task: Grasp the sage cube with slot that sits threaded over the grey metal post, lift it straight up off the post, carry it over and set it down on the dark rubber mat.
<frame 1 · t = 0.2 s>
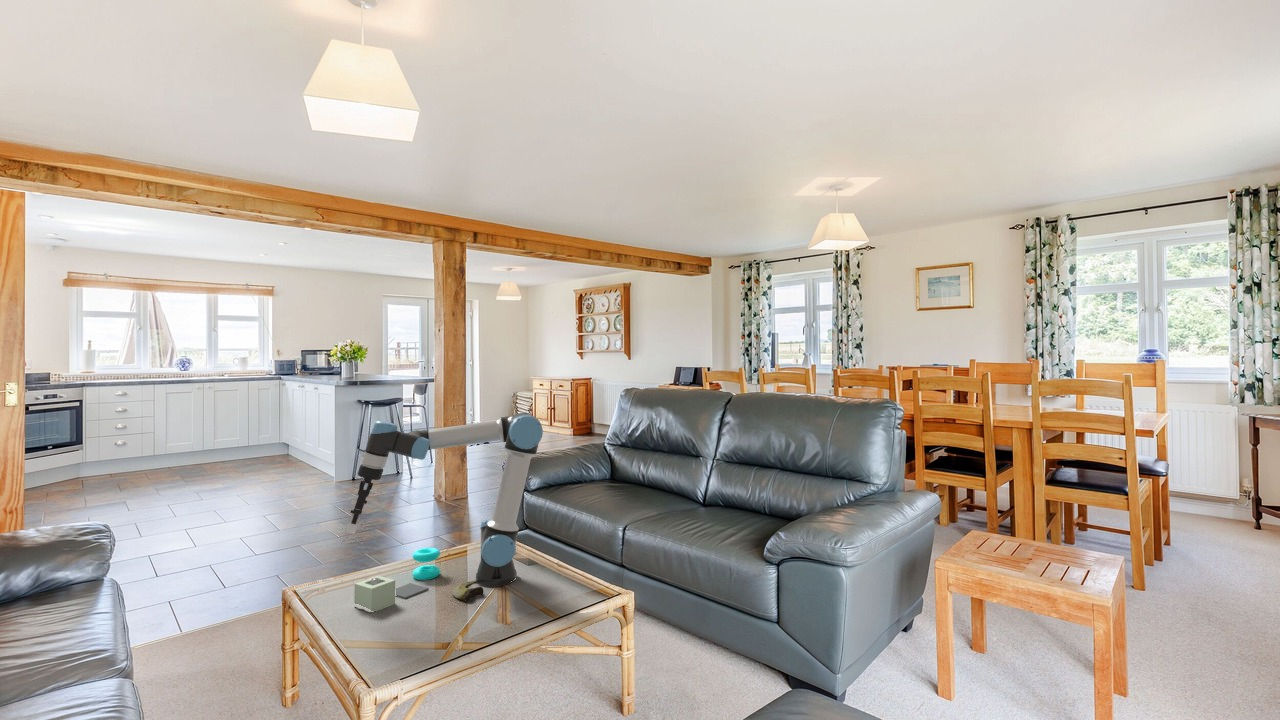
hand: (352, 527, 197), 27 cm above the table, tool tilted 15°, fingers open, 13 cm apart
post stand: (374, 605, 198), on the table
mat: (407, 591, 210), on the table
sage cube with slot: (374, 605, 198), on the table
claw: (469, 593, 210), on the table
donuts: (426, 577, 226), on the table
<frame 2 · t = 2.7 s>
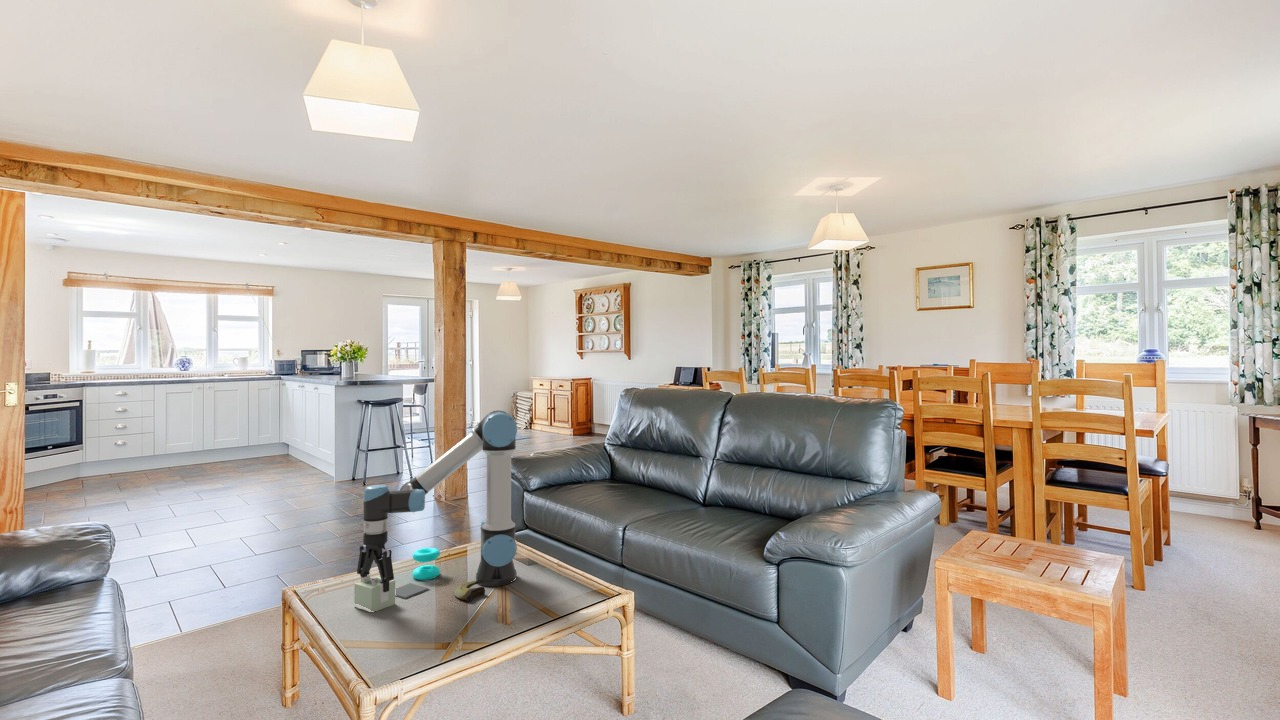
hand: (374, 598, 198), 2 cm above the table, tool pointing down, fingers closed on sage cube with slot, 9 cm apart
sage cube with slot: (374, 605, 198), on the table, touching gripper
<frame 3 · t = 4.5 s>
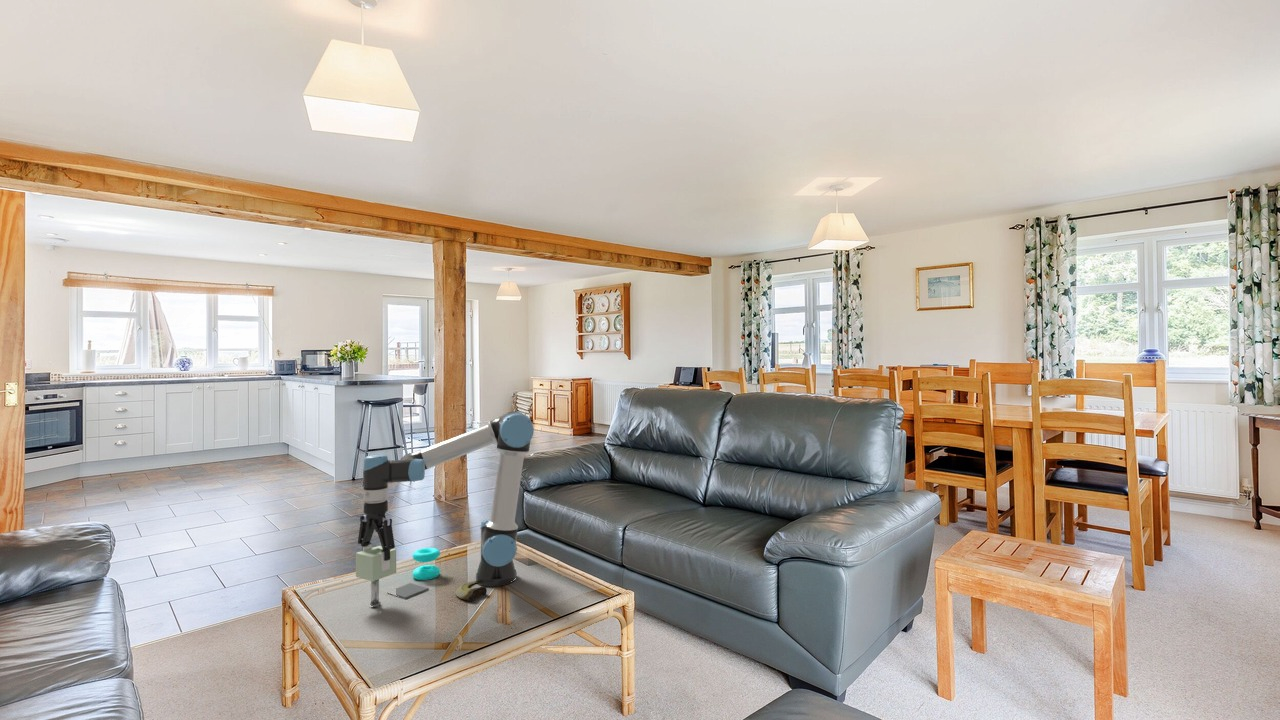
hand: (376, 567, 198), 13 cm above the table, tool pointing down, fingers closed on sage cube with slot, 9 cm apart
sage cube with slot: (376, 574, 198), point 10 cm above the table, touching gripper
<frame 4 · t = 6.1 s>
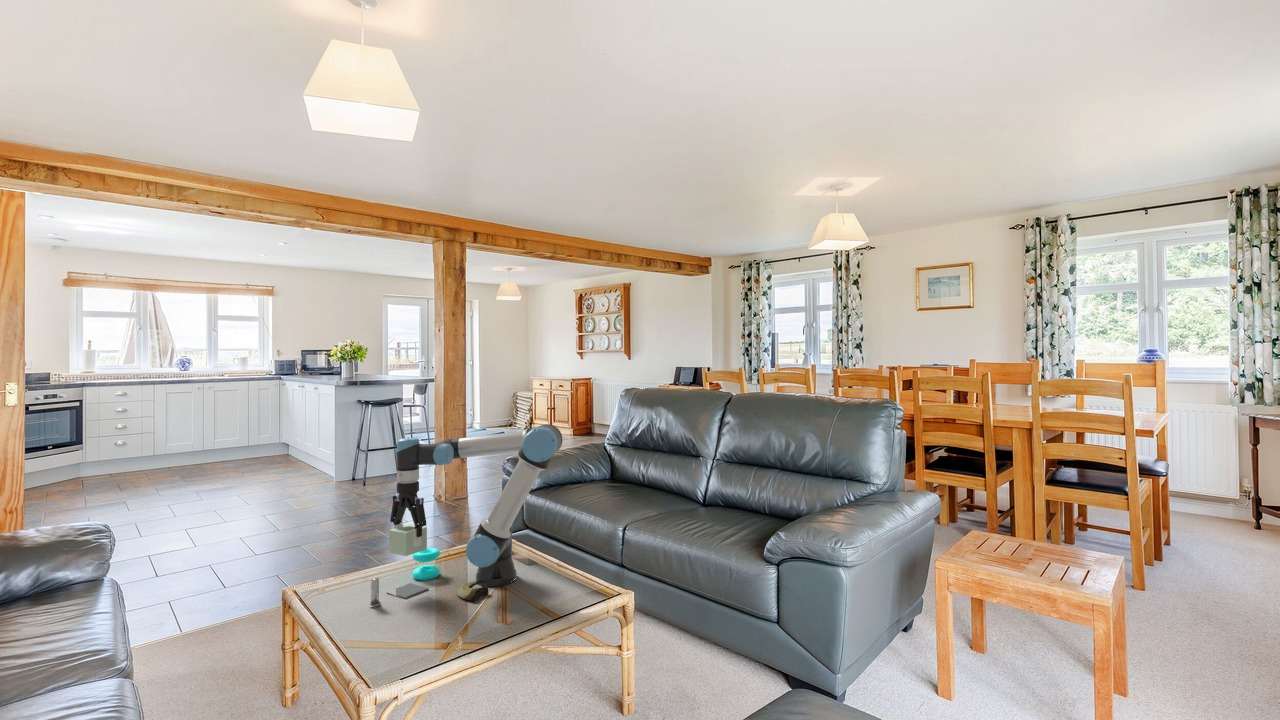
hand: (408, 544, 210), 17 cm above the table, tool pointing down, fingers closed on sage cube with slot, 9 cm apart
sage cube with slot: (408, 550, 210), point 15 cm above the table, touching gripper
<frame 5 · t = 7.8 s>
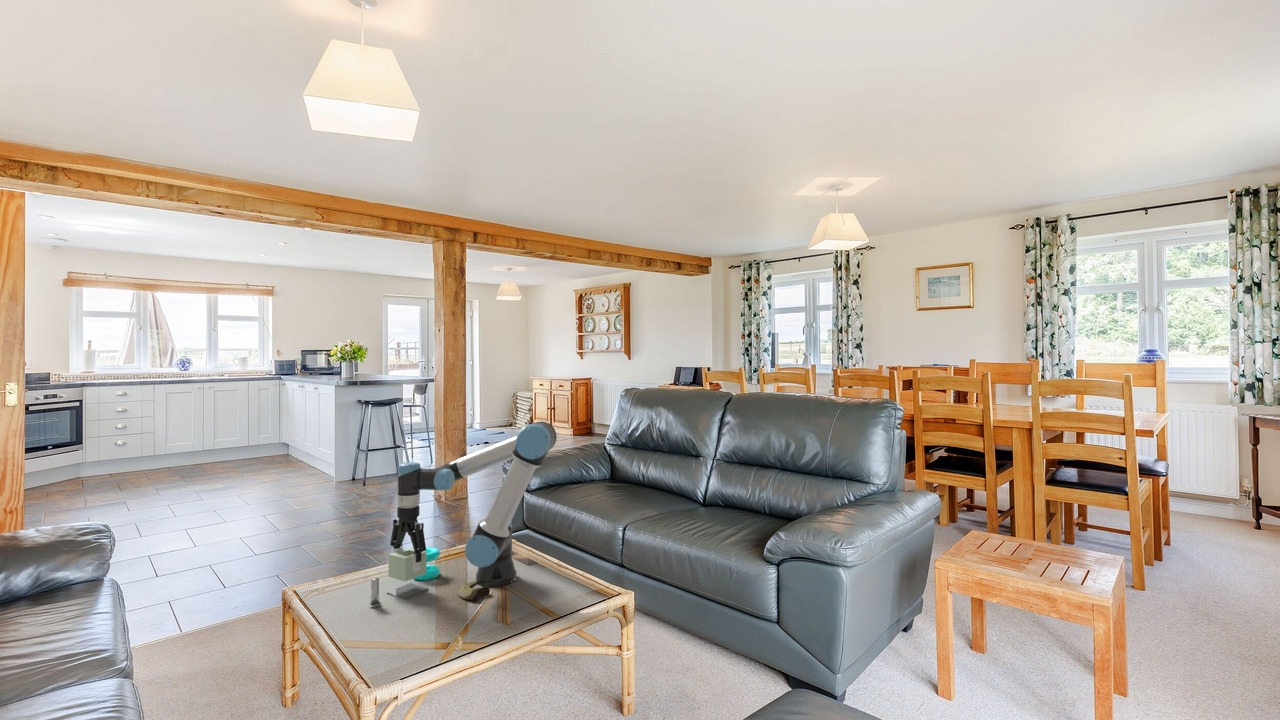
hand: (407, 568, 210), 8 cm above the table, tool pointing down, fingers closed on sage cube with slot, 9 cm apart
sage cube with slot: (407, 575, 210), point 6 cm above the table, touching gripper
when the fingers open (4 cm above the table, at t = 9.2 s): sage cube with slot stays where it is, resting on mat.
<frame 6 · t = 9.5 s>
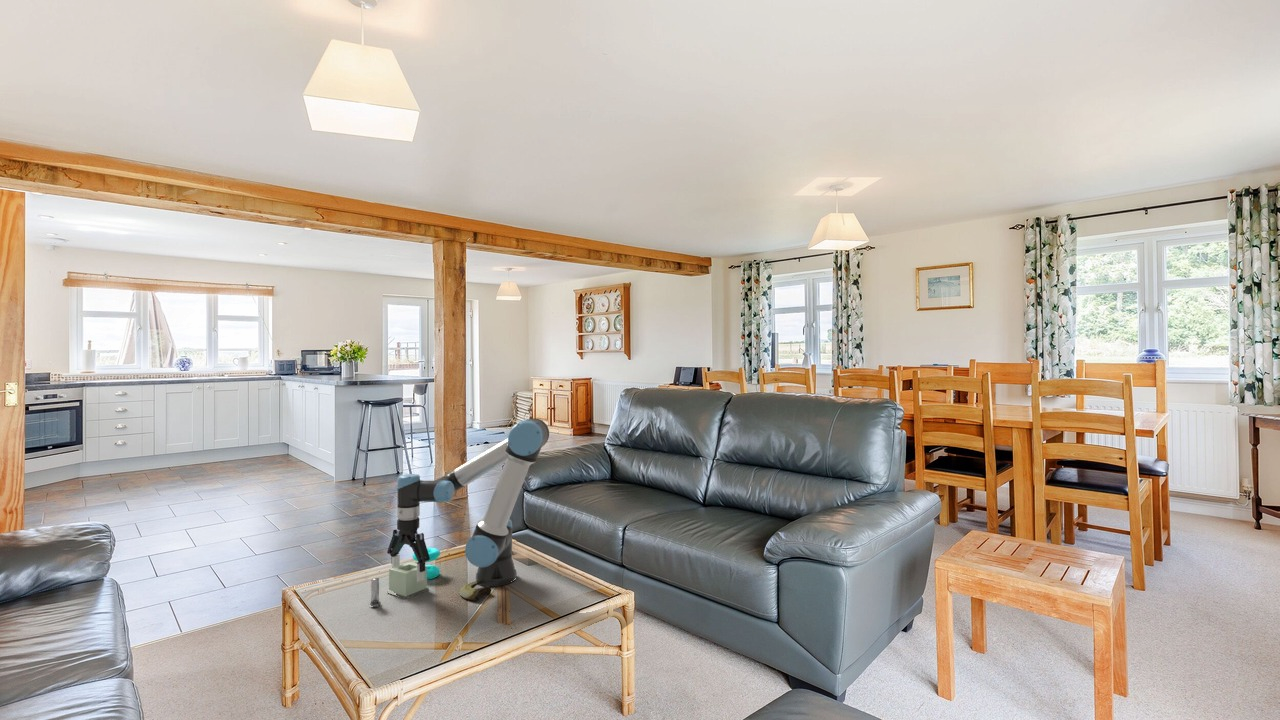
hand: (407, 577, 210), 5 cm above the table, tool pointing down, fingers open, 13 cm apart
sage cube with slot: (407, 589, 210), point 1 cm above the table, touching mat
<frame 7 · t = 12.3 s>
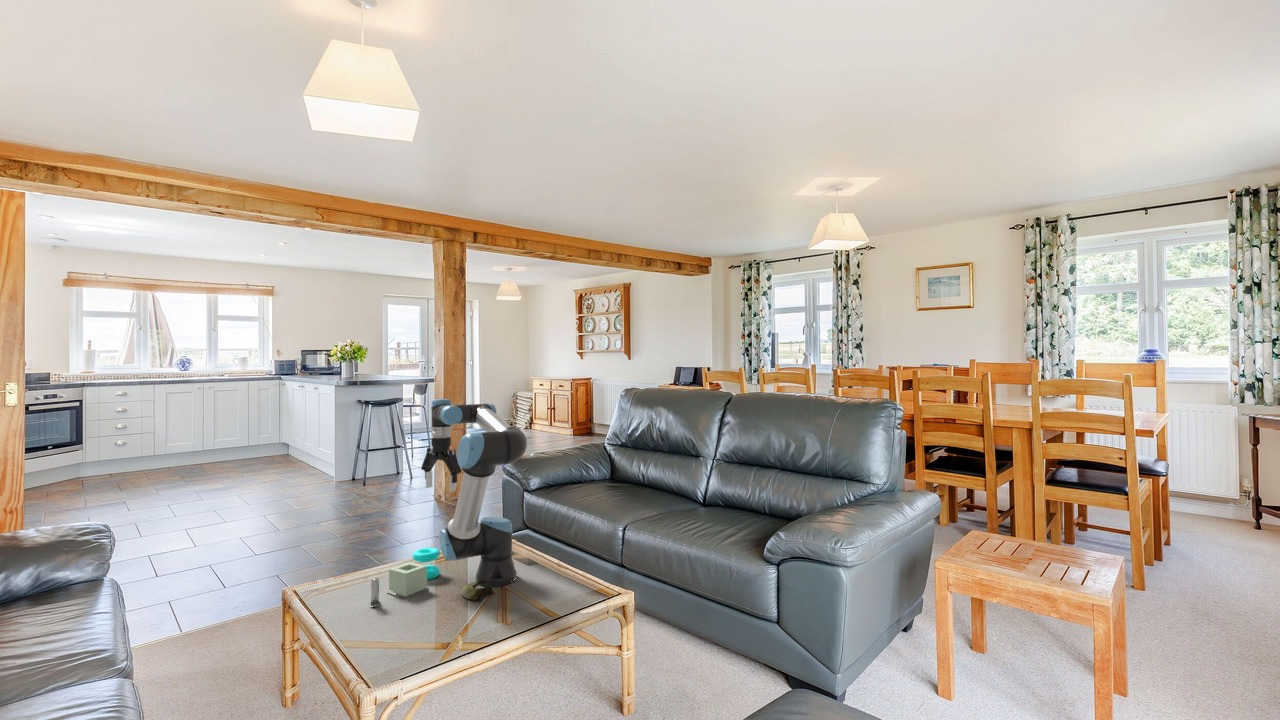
hand: (440, 489, 237), 32 cm above the table, tool pointing down, fingers open, 13 cm apart
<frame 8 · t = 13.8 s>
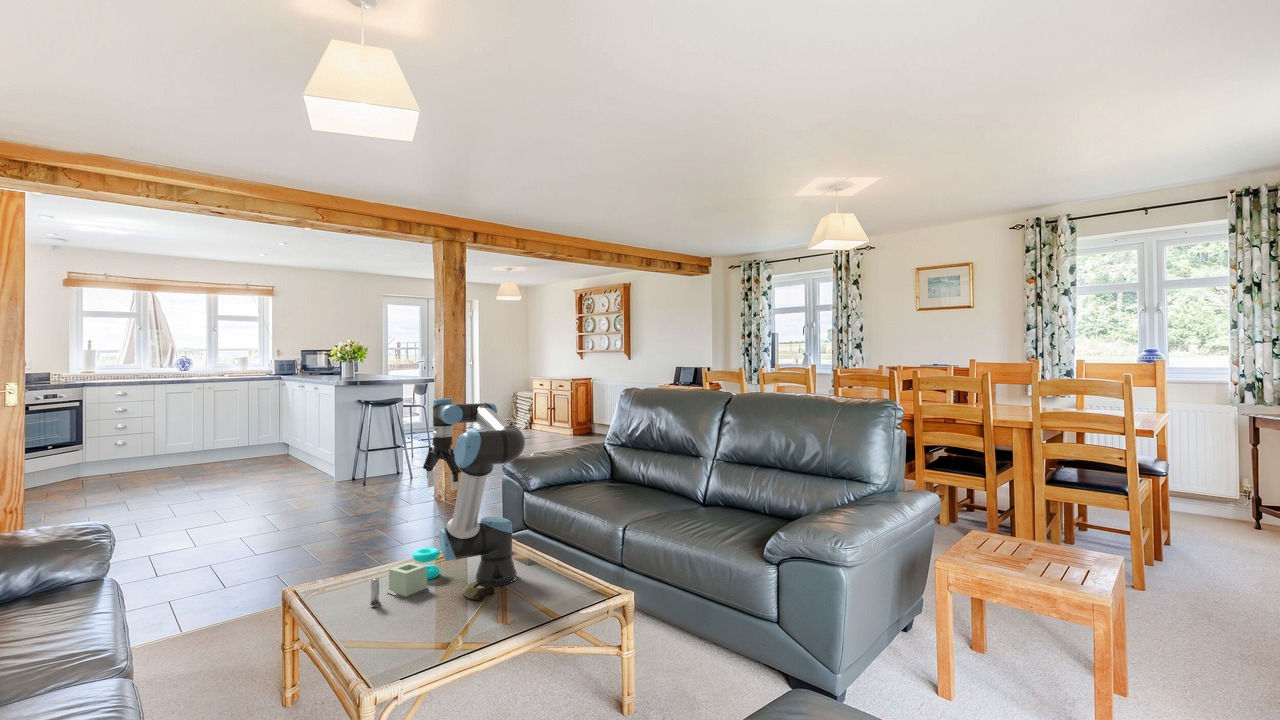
hand: (442, 488, 238), 32 cm above the table, tool pointing down, fingers open, 13 cm apart
at the end: sage cube with slot inside the target area on the mat (0.0 cm from its centre), point 0.6 cm above the mat's base; sage cube with slot 0.0 cm from the mat (horizontally); the gripper is holding nothing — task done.
